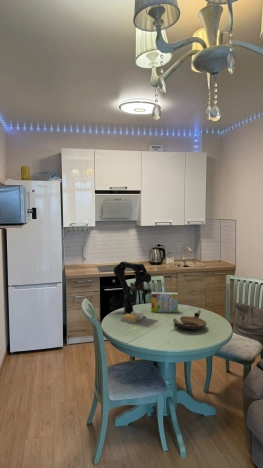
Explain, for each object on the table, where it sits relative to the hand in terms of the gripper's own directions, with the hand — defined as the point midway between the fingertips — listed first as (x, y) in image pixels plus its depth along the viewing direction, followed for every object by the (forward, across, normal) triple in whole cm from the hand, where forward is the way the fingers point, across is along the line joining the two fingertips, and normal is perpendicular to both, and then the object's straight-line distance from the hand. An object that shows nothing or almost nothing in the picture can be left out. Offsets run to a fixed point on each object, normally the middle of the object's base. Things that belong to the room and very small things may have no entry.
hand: (139, 300), depth 238 cm
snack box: (+13, +8, +25) cm, 29 cm away
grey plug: (+12, +2, -5) cm, 13 cm away
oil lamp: (+13, +41, +6) cm, 44 cm away
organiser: (+13, +6, -9) cm, 17 cm away
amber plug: (+12, +2, -13) cm, 18 cm away
